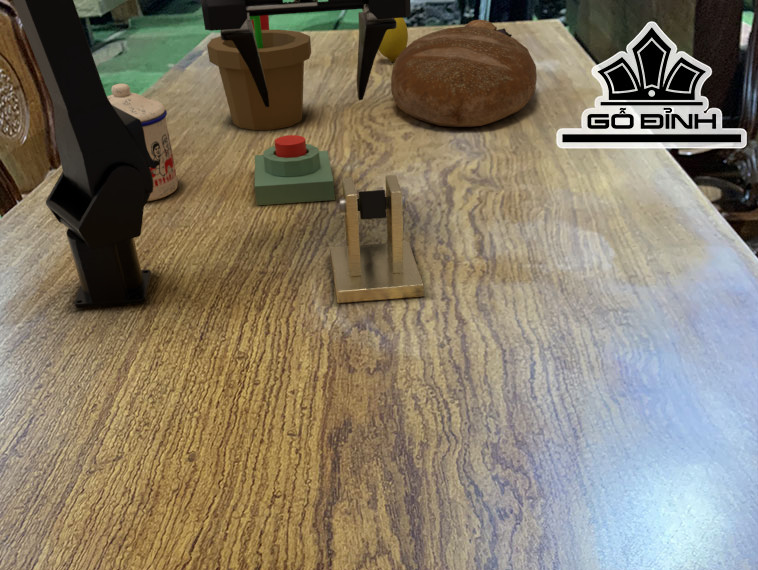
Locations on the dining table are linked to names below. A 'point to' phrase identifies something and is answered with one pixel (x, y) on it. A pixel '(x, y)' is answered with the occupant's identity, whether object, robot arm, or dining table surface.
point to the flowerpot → (281, 73)
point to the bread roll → (485, 25)
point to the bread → (463, 77)
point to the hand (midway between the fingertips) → (314, 102)
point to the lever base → (374, 253)
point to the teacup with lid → (150, 136)
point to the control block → (293, 177)
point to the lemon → (394, 40)
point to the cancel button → (290, 146)
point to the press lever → (372, 204)
